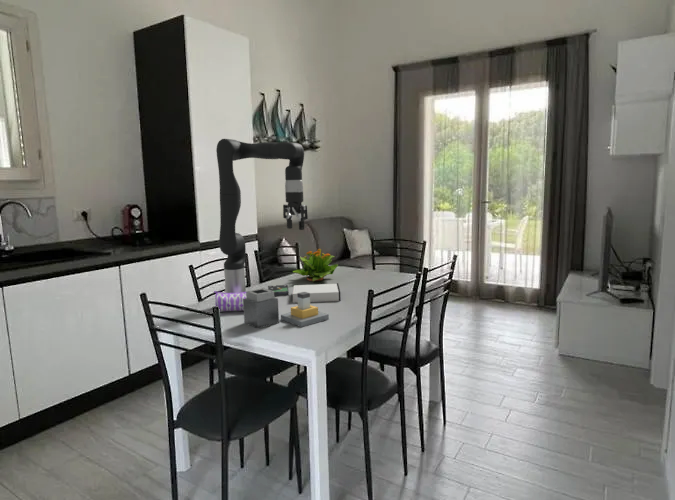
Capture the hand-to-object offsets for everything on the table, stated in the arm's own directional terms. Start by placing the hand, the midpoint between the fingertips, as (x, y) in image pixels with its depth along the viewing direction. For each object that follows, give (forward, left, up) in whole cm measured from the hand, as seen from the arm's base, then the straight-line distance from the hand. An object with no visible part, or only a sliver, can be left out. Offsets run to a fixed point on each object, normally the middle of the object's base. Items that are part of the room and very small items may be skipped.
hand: (295, 229), depth 194 cm
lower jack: (+12, -6, -36) cm, 38 cm away
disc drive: (-13, +21, -37) cm, 44 cm away
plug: (+12, -6, -34) cm, 37 cm away
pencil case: (-20, -18, -36) cm, 45 cm away
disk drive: (-35, +13, -37) cm, 52 cm away
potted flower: (-45, +45, -36) cm, 74 cm away
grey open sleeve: (+3, -21, -36) cm, 42 cm away
